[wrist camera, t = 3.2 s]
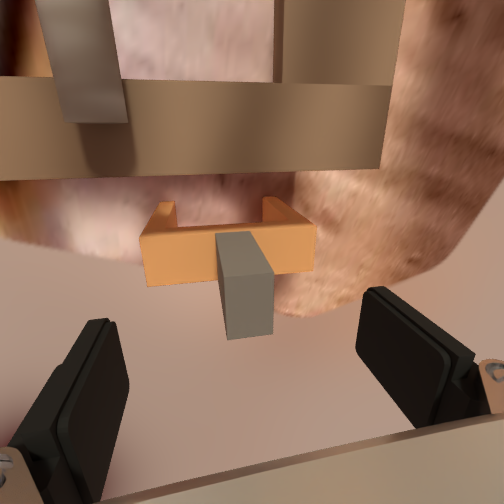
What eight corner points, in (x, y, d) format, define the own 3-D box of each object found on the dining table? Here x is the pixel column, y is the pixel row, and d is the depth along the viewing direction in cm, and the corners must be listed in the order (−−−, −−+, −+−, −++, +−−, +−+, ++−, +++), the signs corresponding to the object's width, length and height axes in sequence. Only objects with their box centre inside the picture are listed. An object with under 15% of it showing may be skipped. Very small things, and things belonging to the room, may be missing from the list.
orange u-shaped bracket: (275, 196, 25) (368, 263, 12) (274, 227, 26) (359, 322, 13) (160, 201, 24) (109, 287, 10) (164, 234, 25) (125, 353, 11)
